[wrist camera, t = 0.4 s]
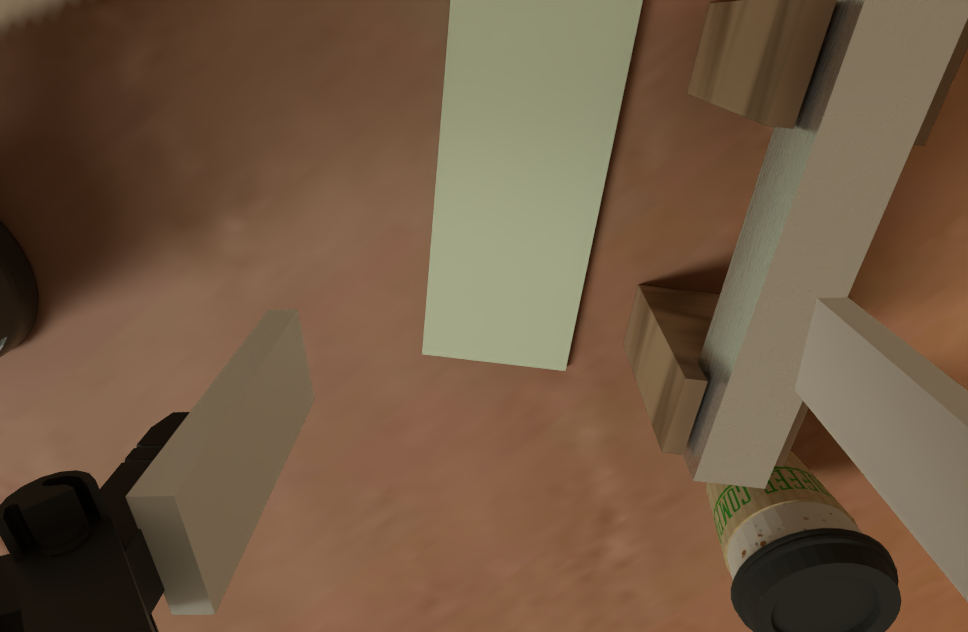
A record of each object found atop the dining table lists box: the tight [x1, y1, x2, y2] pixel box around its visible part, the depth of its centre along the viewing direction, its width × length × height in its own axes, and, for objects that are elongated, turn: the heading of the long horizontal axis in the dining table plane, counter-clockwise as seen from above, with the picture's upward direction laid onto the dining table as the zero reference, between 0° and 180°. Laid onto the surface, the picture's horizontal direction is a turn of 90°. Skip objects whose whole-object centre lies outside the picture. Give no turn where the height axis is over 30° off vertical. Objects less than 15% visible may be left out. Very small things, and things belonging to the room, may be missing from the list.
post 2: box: [687, 0, 968, 146], centre depth 30 cm, size 7×5×12 cm
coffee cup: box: [706, 451, 901, 632], centre depth 42 cm, size 10×10×15 cm
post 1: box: [623, 285, 809, 466], centre depth 38 cm, size 7×5×12 cm
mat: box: [422, 0, 643, 371], centre depth 39 cm, size 11×28×1 cm, turn 173°
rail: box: [683, 0, 968, 489], centre depth 29 cm, size 24×4×4 cm, turn 173°
